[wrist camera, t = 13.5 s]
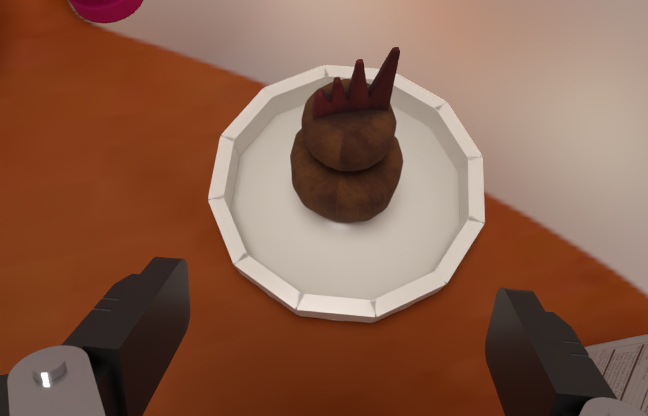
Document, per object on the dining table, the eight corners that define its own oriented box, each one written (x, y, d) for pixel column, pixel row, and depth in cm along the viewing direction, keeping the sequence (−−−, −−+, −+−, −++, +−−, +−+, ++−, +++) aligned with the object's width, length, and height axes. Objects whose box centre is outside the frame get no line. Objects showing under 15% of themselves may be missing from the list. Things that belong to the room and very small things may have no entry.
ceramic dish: (200, 308, 32) (187, 299, 29) (242, 83, 38) (235, 58, 35) (473, 334, 31) (487, 327, 28) (469, 99, 38) (480, 76, 35)
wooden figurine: (397, 168, 35) (442, 14, 21) (383, 242, 33) (423, 127, 19) (307, 150, 35) (291, -10, 21) (287, 222, 33) (256, 96, 19)
